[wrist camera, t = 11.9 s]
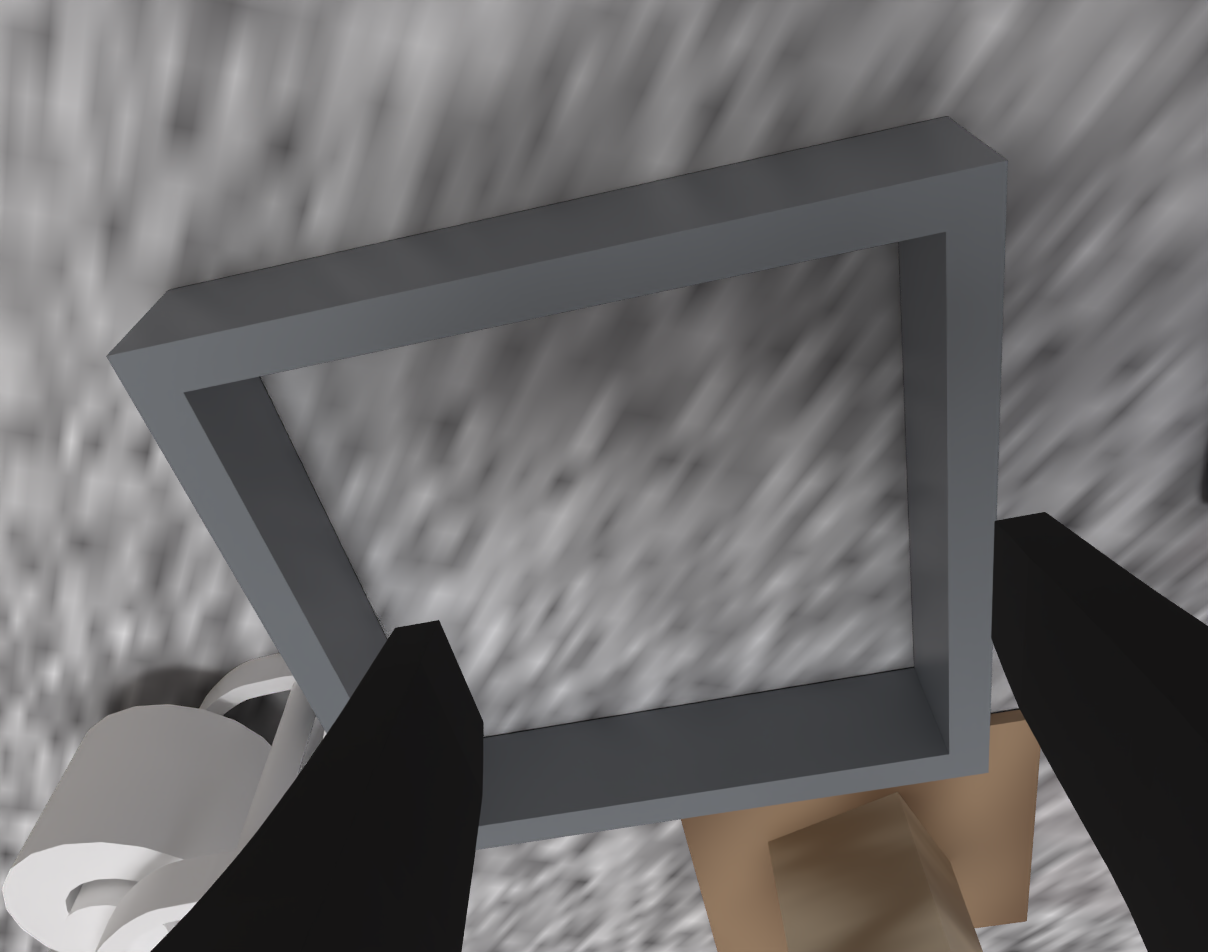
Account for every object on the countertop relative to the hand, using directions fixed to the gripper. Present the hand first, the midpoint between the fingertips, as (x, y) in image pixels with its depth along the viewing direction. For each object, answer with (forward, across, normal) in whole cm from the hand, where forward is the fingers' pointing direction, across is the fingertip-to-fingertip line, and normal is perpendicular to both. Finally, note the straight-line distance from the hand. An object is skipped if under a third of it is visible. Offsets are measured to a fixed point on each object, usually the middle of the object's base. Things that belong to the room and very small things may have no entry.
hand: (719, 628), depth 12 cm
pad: (+9, -3, +20) cm, 22 cm away
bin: (+9, +2, +5) cm, 11 cm away
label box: (+9, -3, +20) cm, 22 cm away
